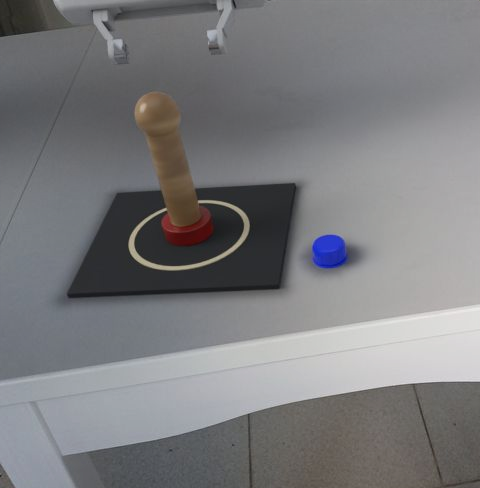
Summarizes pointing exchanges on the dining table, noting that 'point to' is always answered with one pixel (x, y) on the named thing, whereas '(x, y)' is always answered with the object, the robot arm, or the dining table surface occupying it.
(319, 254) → the bottle cap
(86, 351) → the dining table surface
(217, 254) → the mat
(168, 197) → the stamp
